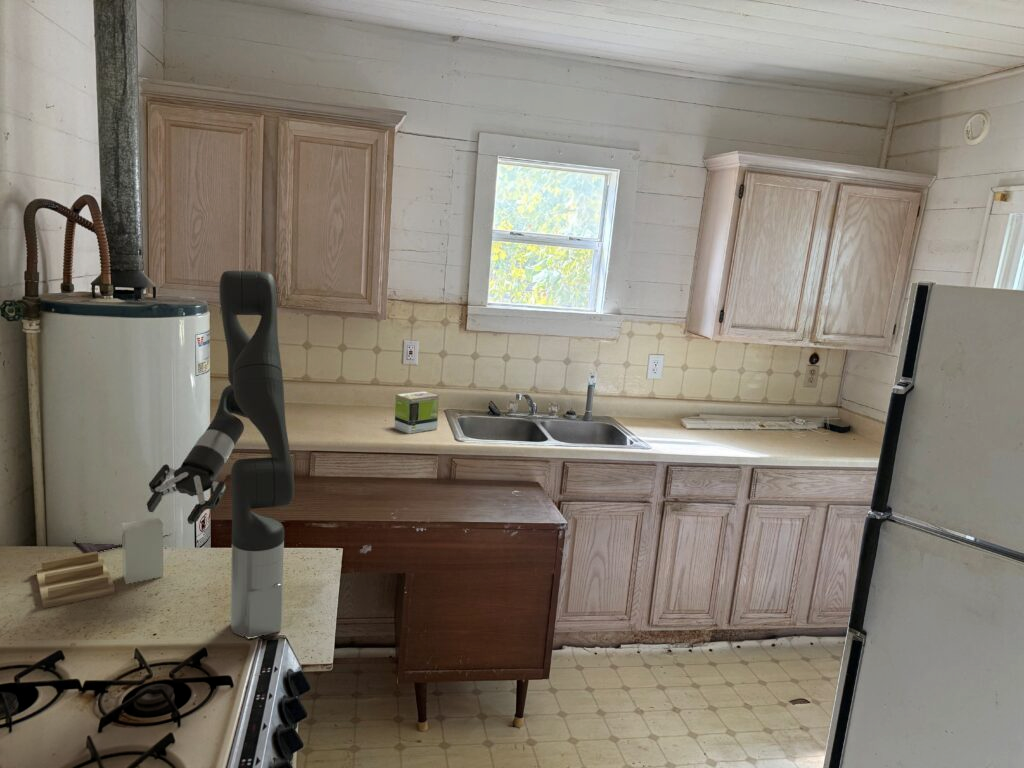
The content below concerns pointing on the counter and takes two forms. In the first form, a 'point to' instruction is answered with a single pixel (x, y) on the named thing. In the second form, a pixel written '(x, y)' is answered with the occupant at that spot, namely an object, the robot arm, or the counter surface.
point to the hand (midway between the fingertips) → (169, 516)
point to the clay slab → (142, 550)
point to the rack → (73, 579)
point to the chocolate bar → (96, 547)
